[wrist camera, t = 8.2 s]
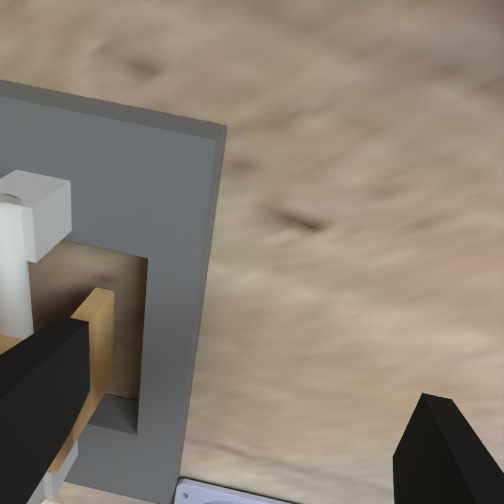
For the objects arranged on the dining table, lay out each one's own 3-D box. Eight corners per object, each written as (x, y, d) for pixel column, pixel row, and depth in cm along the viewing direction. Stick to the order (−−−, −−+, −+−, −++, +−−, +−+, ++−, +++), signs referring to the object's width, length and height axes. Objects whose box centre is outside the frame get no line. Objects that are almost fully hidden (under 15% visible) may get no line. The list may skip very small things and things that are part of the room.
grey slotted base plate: (179, 473, 27) (150, 567, 22) (-22, 426, 27) (-90, 509, 23) (227, 125, 17) (192, 170, 13) (-87, 62, 18) (-226, 84, 13)
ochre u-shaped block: (113, 379, 22) (57, 472, 18) (17, 356, 22) (-61, 441, 18) (114, 291, 20) (49, 374, 15) (6, 266, 20) (-88, 341, 16)
